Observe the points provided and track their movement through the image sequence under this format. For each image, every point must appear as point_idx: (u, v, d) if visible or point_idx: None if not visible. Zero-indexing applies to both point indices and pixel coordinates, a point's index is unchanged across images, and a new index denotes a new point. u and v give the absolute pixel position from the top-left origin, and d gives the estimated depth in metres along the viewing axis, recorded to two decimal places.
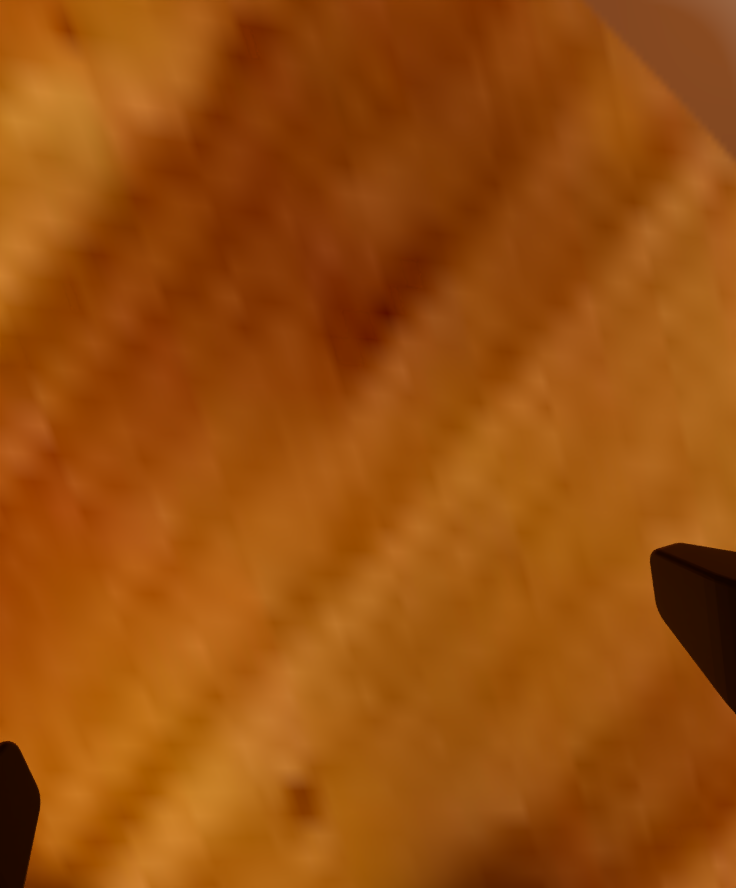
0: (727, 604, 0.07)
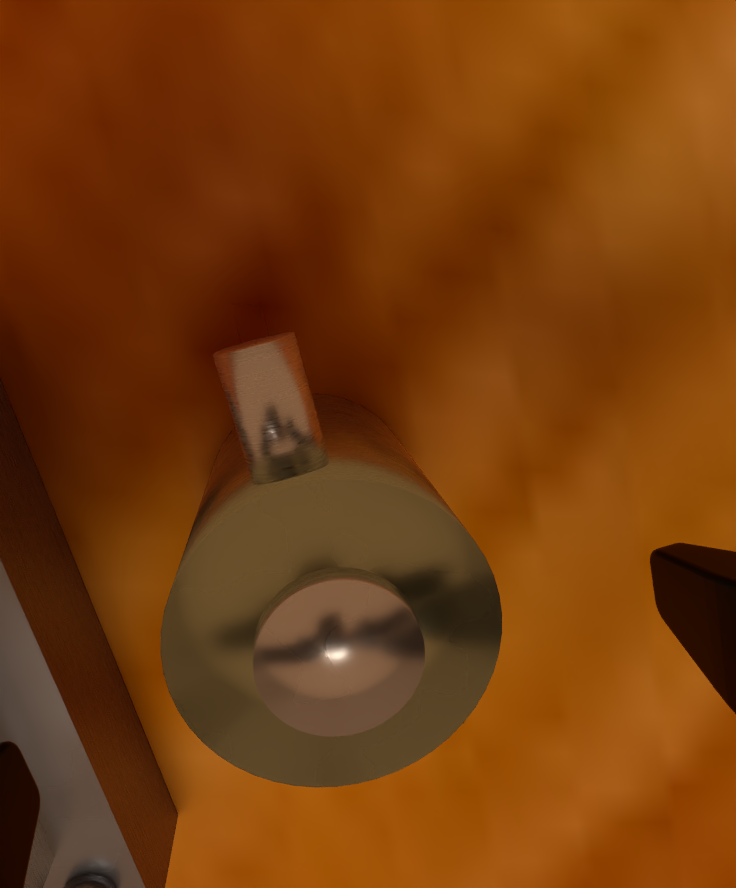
0: (727, 604, 0.07)
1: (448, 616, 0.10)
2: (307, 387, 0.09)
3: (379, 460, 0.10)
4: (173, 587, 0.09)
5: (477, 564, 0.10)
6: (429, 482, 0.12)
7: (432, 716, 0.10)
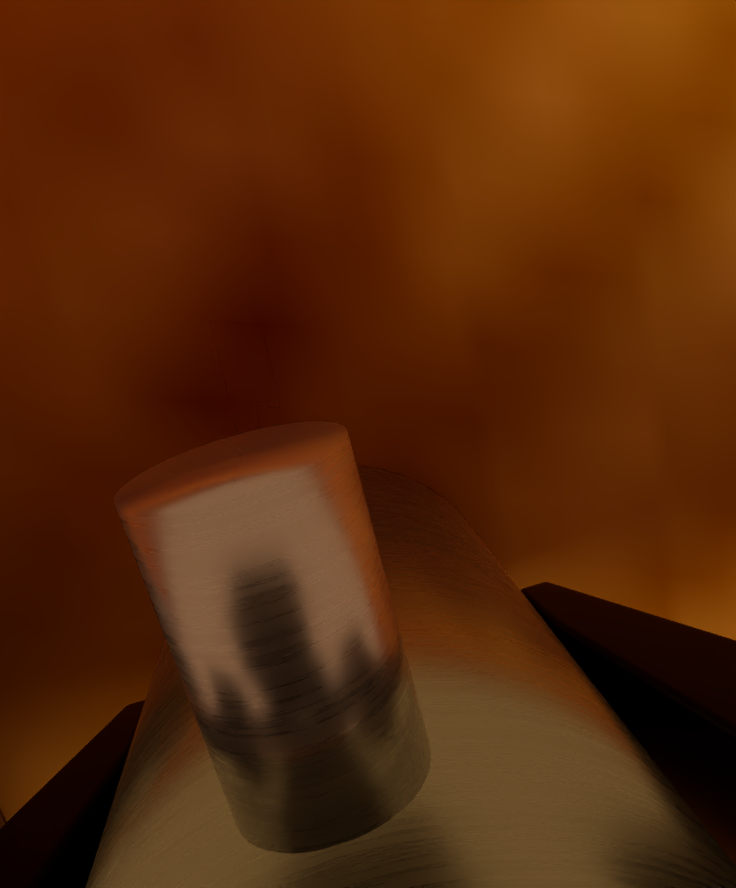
0: (569, 652, 0.07)
1: None
2: (382, 580, 0.03)
3: (535, 708, 0.04)
4: None
5: None
6: (604, 698, 0.06)
7: None
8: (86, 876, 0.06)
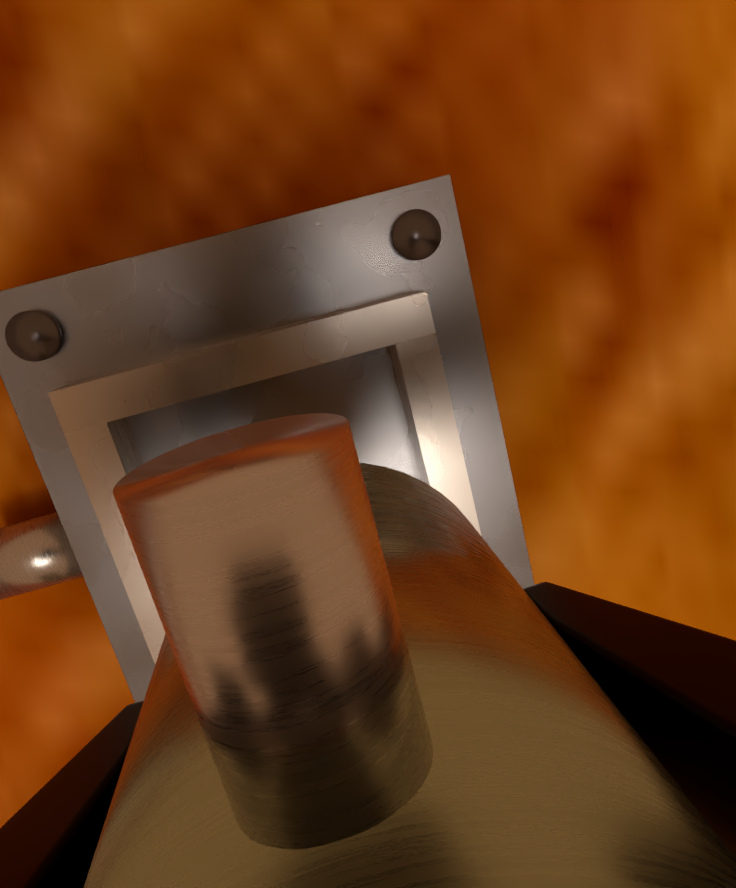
0: None
1: None
2: (384, 573, 0.03)
3: (538, 704, 0.04)
4: None
5: None
6: (606, 695, 0.06)
7: None
8: (86, 876, 0.06)
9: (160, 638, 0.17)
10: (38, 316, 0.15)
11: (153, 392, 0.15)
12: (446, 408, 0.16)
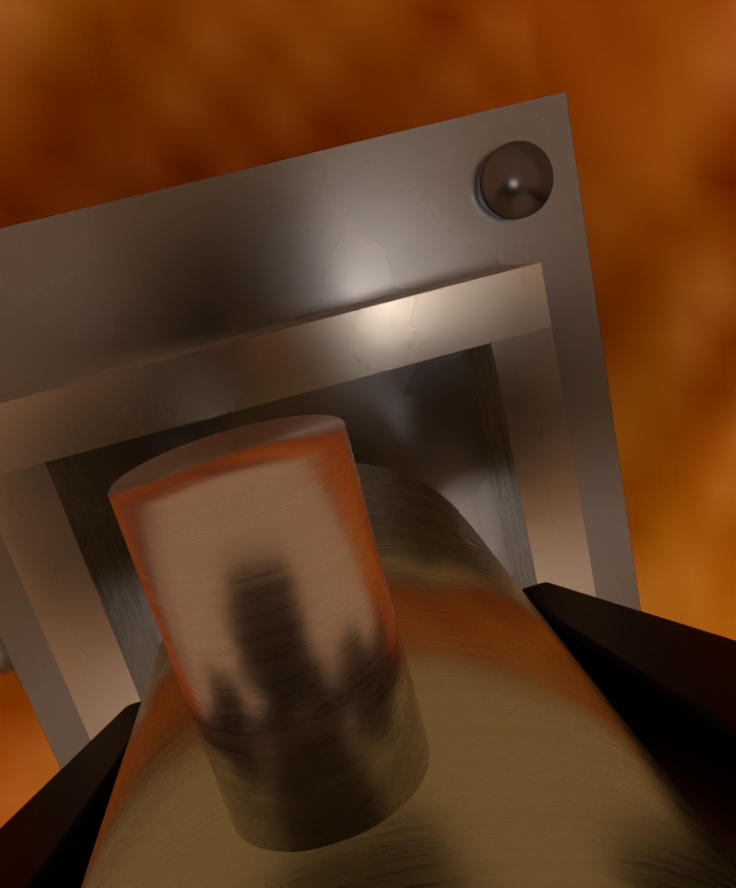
0: None
1: None
2: (380, 575, 0.03)
3: (535, 705, 0.04)
4: None
5: None
6: (604, 696, 0.06)
7: None
8: None
9: None
10: None
11: (119, 415, 0.10)
12: (561, 439, 0.11)
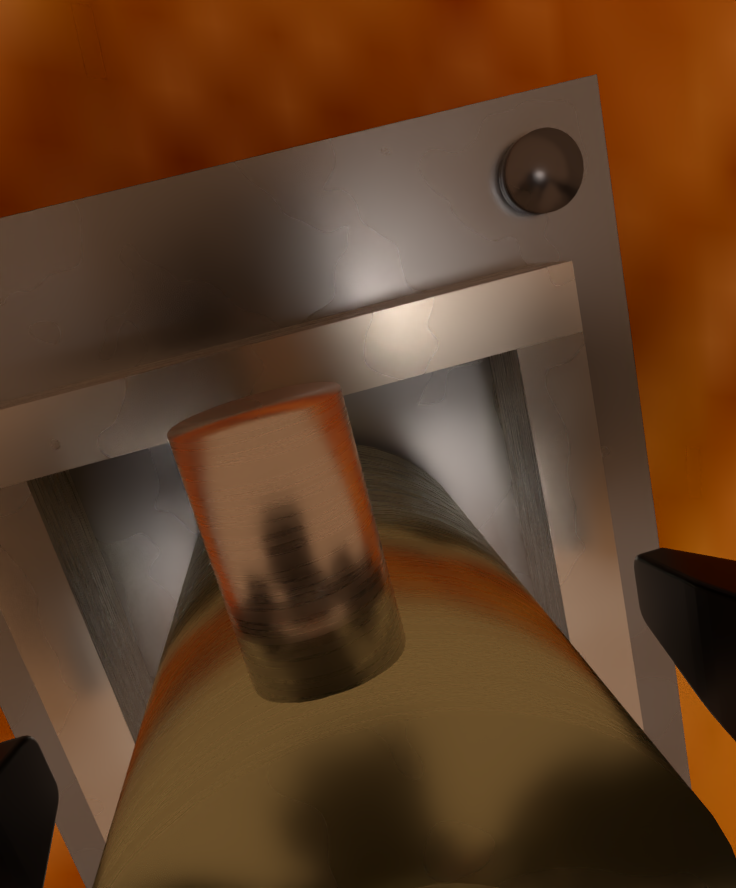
0: (707, 610, 0.07)
1: None
2: (367, 499, 0.04)
3: (491, 616, 0.05)
4: None
5: (712, 857, 0.05)
6: (556, 625, 0.07)
7: None
8: None
9: None
10: None
11: (108, 429, 0.09)
12: (591, 454, 0.10)
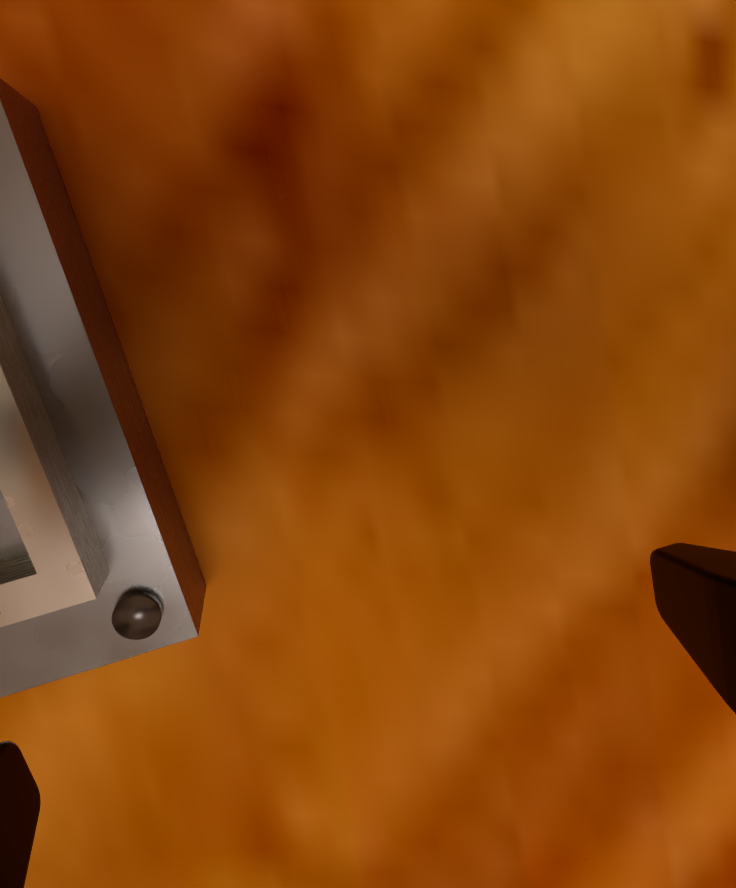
0: (727, 604, 0.07)
1: None
2: None
3: None
4: None
5: None
6: None
7: None
8: None
9: None
10: None
11: None
12: None
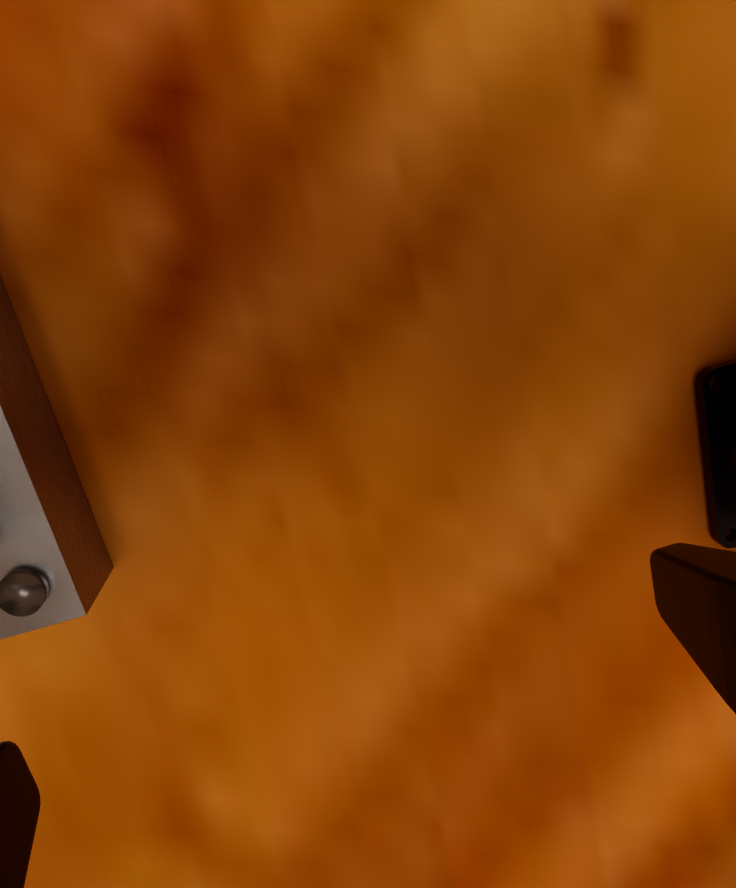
0: (727, 604, 0.07)
1: None
2: None
3: None
4: None
5: None
6: None
7: None
8: None
9: None
10: None
11: None
12: None
